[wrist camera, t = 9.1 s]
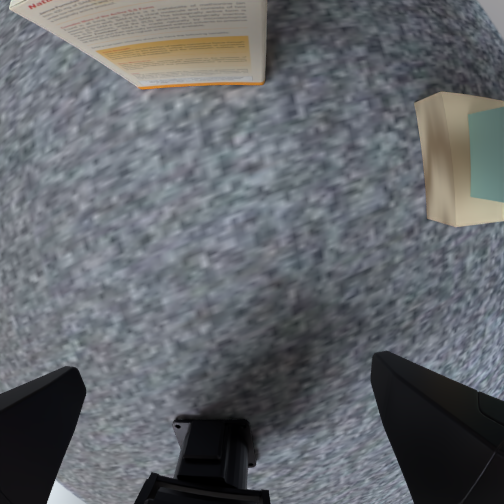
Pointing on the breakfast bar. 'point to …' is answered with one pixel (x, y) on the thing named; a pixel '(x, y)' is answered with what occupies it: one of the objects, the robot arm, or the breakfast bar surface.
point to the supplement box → (162, 37)
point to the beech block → (452, 159)
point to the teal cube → (487, 154)
